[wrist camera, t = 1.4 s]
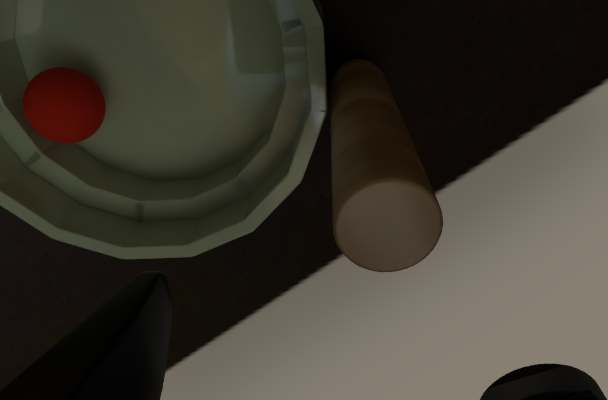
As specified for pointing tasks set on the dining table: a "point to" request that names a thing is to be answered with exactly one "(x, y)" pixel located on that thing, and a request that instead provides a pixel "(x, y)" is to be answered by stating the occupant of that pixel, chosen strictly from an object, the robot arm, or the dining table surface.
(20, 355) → the dining table surface
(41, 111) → the ball
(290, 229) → the dining table surface
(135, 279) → the robot arm
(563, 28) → the dining table surface
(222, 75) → the bowl
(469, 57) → the dining table surface
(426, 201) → the stick
